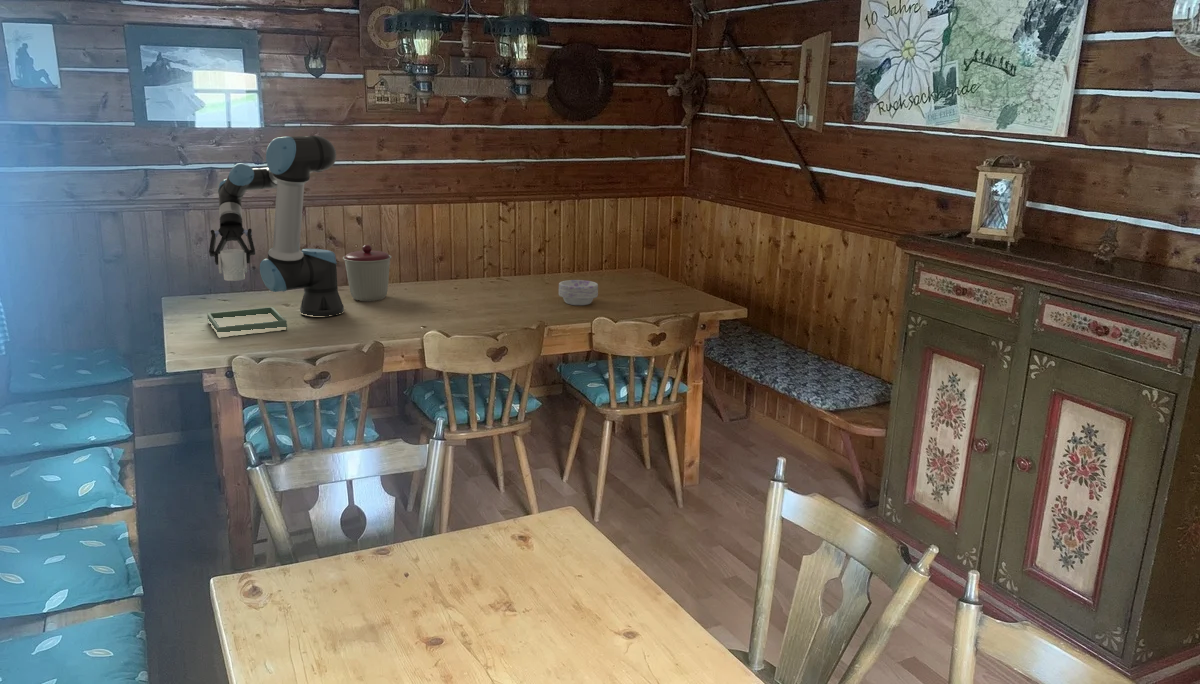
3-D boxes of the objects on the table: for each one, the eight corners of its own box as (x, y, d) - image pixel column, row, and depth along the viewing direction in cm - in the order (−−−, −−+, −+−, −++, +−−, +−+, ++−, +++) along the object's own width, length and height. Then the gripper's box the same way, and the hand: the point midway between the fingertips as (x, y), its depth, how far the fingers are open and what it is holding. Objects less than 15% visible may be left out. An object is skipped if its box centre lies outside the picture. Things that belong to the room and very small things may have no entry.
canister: (342, 304, 345) (338, 249, 340) (348, 293, 363) (345, 240, 357) (391, 304, 348) (388, 249, 342) (395, 293, 365) (393, 240, 359)
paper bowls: (592, 297, 365) (592, 278, 363) (602, 306, 351) (602, 286, 349) (554, 299, 361) (554, 279, 359) (563, 308, 347) (563, 287, 345)
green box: (273, 316, 326) (272, 306, 325) (287, 330, 309) (286, 320, 308) (208, 323, 316) (207, 313, 315) (218, 338, 298) (217, 327, 297)
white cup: (217, 279, 321) (214, 251, 319) (235, 276, 328) (233, 248, 325) (233, 282, 318) (230, 253, 315) (251, 278, 325) (249, 250, 322)
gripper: (262, 223, 336) (265, 275, 325) (201, 225, 329) (202, 278, 319) (260, 210, 329) (263, 263, 319) (198, 212, 323) (199, 266, 312)
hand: (233, 270), depth 319 cm, fingers closed on white cup, 8 cm apart
